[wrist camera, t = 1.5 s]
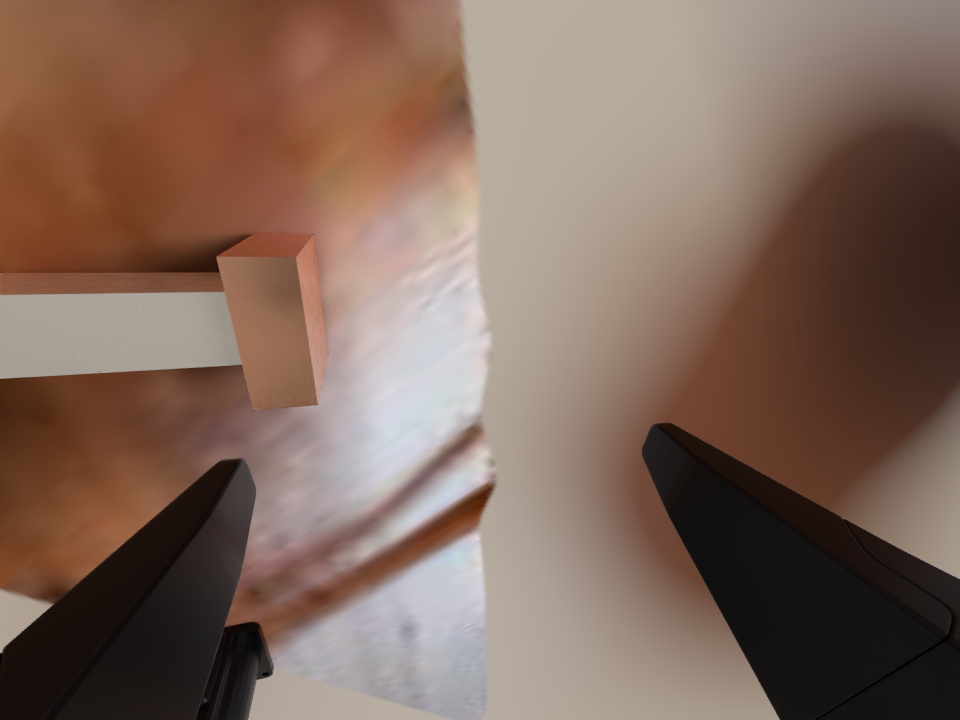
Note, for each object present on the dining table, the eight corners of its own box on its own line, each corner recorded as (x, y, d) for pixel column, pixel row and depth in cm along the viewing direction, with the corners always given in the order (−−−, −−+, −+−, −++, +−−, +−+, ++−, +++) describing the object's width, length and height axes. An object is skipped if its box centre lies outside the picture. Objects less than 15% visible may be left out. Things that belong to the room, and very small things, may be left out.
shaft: (328, 352, 20) (317, 404, 16) (-190, 379, 15) (-422, 467, 11) (313, 234, 18) (295, 257, 13) (-318, 220, 13) (-695, 250, 8)
